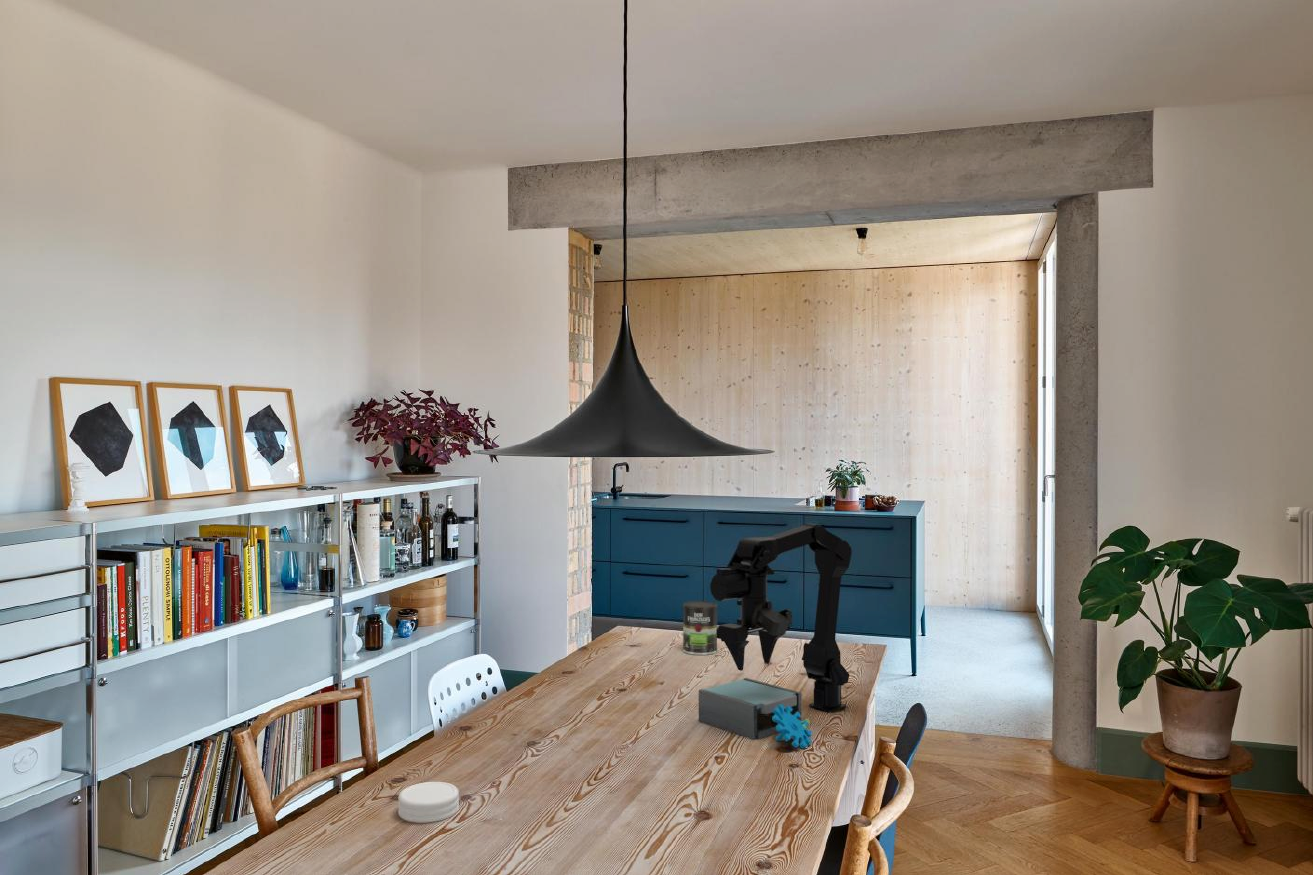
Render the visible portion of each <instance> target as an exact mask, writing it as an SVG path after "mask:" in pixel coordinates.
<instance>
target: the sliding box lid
mask: <svg viewBox="0 0 1313 875" xmlns="http://www.w3.org/2000/svg"><path fill="white" fill-rule="evenodd" d="M743 679H744V678H743ZM743 679H739V680H735V681H731V682H727V683H723V684H719V685H715V686H711V687H707V688H703V690H706V691H710V692H713V693H716V694H720V695H723V696H727V697H730V698H733V699H737V700H740V701H744V702H747V703H750V704H754V705H757V709H759V708H761V713H764V714H769V713H772V712H773V710H774V709H775V708H777V707H778V706H779V705H780V704H781V705H784V707H785V708H786V707H787V706H790V707H792V706H795V705H797V696H796V693H793V692H789V691H785V690H781V689H778V688H774V687H770V686H766V685H762V684H758V683H754V682H751V681H747V680H743ZM764 714H763V715H764Z"/></svg>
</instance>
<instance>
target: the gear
mask: <svg viewBox="0 0 1313 875" xmlns="http://www.w3.org/2000/svg"><path fill="white" fill-rule="evenodd" d="M784 709H785V710H786V713H785V711H784ZM792 710H793V709H792V708H791V707H790V706H787V707H786V708H785V707H784V705H781V704H780V705H779V706H778V707H777V708H775V709H774V710H773V713H774V714H775V715H774V716H773V717H771V718H772V721H773V722H774V723H776V724H778V725H777V726H776V729H777V731H778V732H779V734H778V735H777V736H776V737H775V741H776V742H778V743H779V742H780V741H781V740H782V739H783V740H785V742H788V741H790V739H791V738H792V739H793V741H792V742H791V746H793V747H794V748H798V747H800V748H801V749H806V748H807V747H808V746H809V745H810V744H811V743H812V742H813V741H812V738H811V736H812V735H813V732H812V731H811V730H810V729H808V726H809V724H810V723H811V722H810V719H808V718H805V719H804V720H801V721H800V720H798V719H799V718H800V717H801V718H802V714H801V715H800V713H799V712H796V713H795V714H794V715H792V714H791V713H790V712H791V711H792ZM780 731H782V732H780ZM799 742H800V743H799Z"/></svg>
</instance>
